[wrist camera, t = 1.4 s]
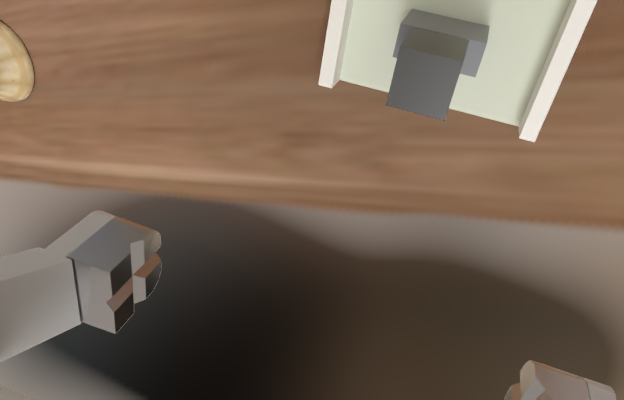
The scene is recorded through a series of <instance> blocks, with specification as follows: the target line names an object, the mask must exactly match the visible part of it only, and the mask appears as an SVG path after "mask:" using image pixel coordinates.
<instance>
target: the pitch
mask: <svg viewBox="0 0 624 400" xmlns="http://www.w3.org/2000/svg"><path fill="white" fill-rule="evenodd" d="M596 2H597V0H332V1H331V8H330V14H329V21H328V27H327V33H326V40H325V46H324V52H323V59H322V65H321V71H320V78H319V84H318V85H321V86H324V87H328V88H333V86H334V85H335V84H336V83H337V82H338V81H339V80H342V81H346V82H350V83H354V84H358V85H362V86H365V87H369V88H373V89H377V90H381V91H384V92H388V93H389V90H390V85H391V81H392V77H393V73H394V69H395V65H396V61H397V58H395V57H393V53H394V48H395V44H396V40H397V36H398V32H399V27H400V23H401V22H402V21H403V20H404V18H405V17H406V16H407V15H408V14H409V12H410V11H411V10H412V9H416V10H420V11H425V12H429V13H434V14H438V15H442V16H447V17H451V18H456V19H460V20H465V21H469V22H473V23H478V24H482V25H487V26H490V27H489V34H488V40H487V45H486V48H485V51H484V54H483V57H482V60H481V63H480V66H479V69H478V72H477V74H476V77H472V76H468V75H463V74H460V75H459V78H458V81H457V84H456V87H455V90H454V93H453V96H452V99H451V103H450V106H449V108H450V109H453V110H457V111H461V112H465V113H469V114H473V115H476V116H480V117H484V118H488V119H492V120H496V121H499V122H503V123H507V124H511V125H515V126H519V138H520V139H524V140H528V141H532V142H535V140H536V138H537V136H538V133H539V131H540V129H541V127H542V124H543V122H544V120H545V118H546V115H547V113H548V111H549V108H550V106H551V104H552V102H553V99H554V97H555V95H556V93H557V90H558V88H559V86H560V84H561V81H562V79H563V77H564V75H565V72H566V70H567V68H568V66H569V63H570V61H571V59H572V57H573V54H574V52H575V50H576V48H577V45H578V43H579V41H580V39H581V36H582V34H583V32H584V29H585V27H586V25H587V23H588V20H589V18H590V16H591V14H592V11H593V9H594V7H595V5H596Z"/></svg>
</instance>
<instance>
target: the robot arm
mask: <svg viewBox="0 0 624 400" xmlns="http://www.w3.org/2000/svg"><path fill="white" fill-rule="evenodd" d="M160 246H161V237H160V234H159V233H158V232H157V231H155V230H152V229H150V228H147V227H144V226H142V225H139V224H136V223H133V222H131V221H128V220H126V219H123V218H120V217H116V216H113V215H111V214H108V213H106V212H103V211H100V210H98V211H94V212H92V213H90V214H89V215H88V216H86V217H85V218H84V219H83V220H81V221H80V222H79V223H77V224H76V225H75V226H74V227H72V228H71V229H70V230H69V231H67V232H66V233H65V234H63V235H62V236H61V237H60V238H58V239H57V240H56V241H54V242H53V243H52V244H51V245H49V246H48V247H47V248H46V249H42V248H34V249H30V250H26V251H23V252H19V253H15V254H11V255H7V256H4V257H0V362H2V361H4V360H6V359H8V358H10V357H12V356H14V355H16V354H19V353H20V352H22V351H25V350H27V349H29V348H31V347H33V346H35V345H37V344H39V343H42V342H44V341H46V340H47V339H50V338H52V337H54V336H56V335H58V334H60V333H62V332H65V331H67V330H68V329H71V328H73V327H75V326H77V325H79V324H81V322H84V323H87V324H89V325H92V326H95V327H98V328H100V329H103V330H106V331H109V332H112V333H114V334H116V333H117V332H118V331H119V329H120V328H121V327H122V326H123V325H124V324H125V323H126V322H127V320H128V319H129V318H130V317H131V316H132V315H133V314H134V303H137V302H140V301H142V300H145V299H146V298H147V297H148V296H149V295H150V294H151V292H152V291H153V290H154V288H155V286H156V284H157V282H158V280H159V277H160V272H161V260H160V258H159V257H158V255H157V253H156V251H157V250H158V248H159V247H160ZM0 400H35V399H33V398H31V397H28V396H26V395H24V394H21V393H19V392H16V391H14V390H12V389H10V388H7V387H5V386H3V385H0ZM504 400H616V395H615V392H614V391H613V389H612V388H611V387H610V386H607V385H604V384H601V383H598V382H595V381H592V380H589V379H586V378H581V377H579V376H576V375H573V374H570V373H567V372H565V371H562V370H558V369H555V368H553V367H550V366H547V365H543V364H541V363H538V362H535V361H531V360H529V361H528V362H527V363H526V364H525V365H524V366H523V368H522V369H521V371H520V383H517V384H515V385H512V386H511V387H510V389H509V391H508V392H507V394H506V396H505V399H504Z"/></svg>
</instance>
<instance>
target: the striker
mask: <svg viewBox="0 0 624 400" xmlns="http://www.w3.org/2000/svg"><path fill="white" fill-rule="evenodd" d="M489 27H490V26H487V25H482V24H478V23H473V22H469V21H465V20H460V19H456V18H451V17H447V16H442V15H438V14H434V13H429V12H425V11H420V10H416V9H412V10H411V11H410V12H409V14H408V15H407V16H406V17H405V18H404V20H403V21H402V22H401V23H400V27H399V32H398V36H397V40H396V44H395V48H394V53H393V57H395V58H397V61H396V65H395V69H394V73H393V77H392V81H391V85H390V90H389V94H388V98H387V102H386V105H387V106H390V107H394V108H398V109H402V110H405V111H409V112H413V113H417V114H420V115H424V116H428V117H432V118H435V119H439V120H443V121H445V118H446V115H447V112H448V109H449V106H450V103H451V99H452V96H453V93H454V90H455V87H456V84H457V81H458V78H459V75H460V74H463V75H468V76H472V77H476V74H477V72H478V69H479V66H480V63H481V60H482V57H483V54H484V51H485V48H486V45H487V40H488V34H489Z"/></svg>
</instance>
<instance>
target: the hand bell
mask: <svg viewBox="0 0 624 400" xmlns="http://www.w3.org/2000/svg"><path fill="white" fill-rule="evenodd" d="M33 85H34V69H33V65H32V61H31V59H30V56H29V54H28V52H27V50H26V48H25V46H24V44H23V43H22V41H21V40H20V39H19V37H18V36H17V35H16V34H15V32H14V31H13V30H12V29H10V28H9V27H8V26H7V25H6V24H4V23H3V22H1V21H0V99H1V100H5V101H11V102H17V101H21V100H24V99H25V98H27V97H28V96H29V94H30V93H31V91H32V89H33Z"/></svg>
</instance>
